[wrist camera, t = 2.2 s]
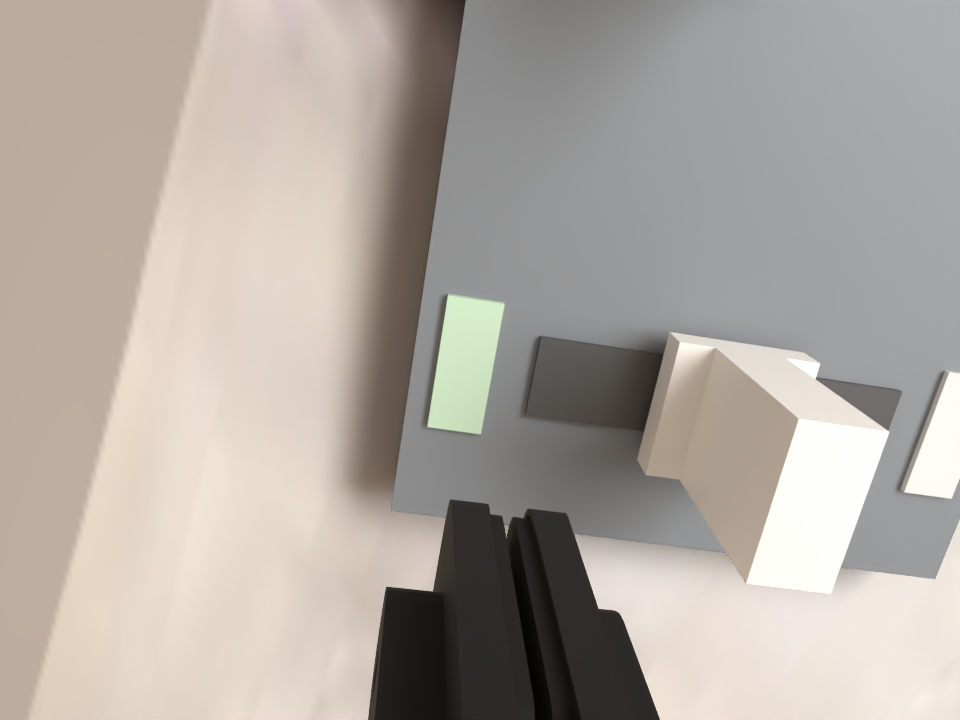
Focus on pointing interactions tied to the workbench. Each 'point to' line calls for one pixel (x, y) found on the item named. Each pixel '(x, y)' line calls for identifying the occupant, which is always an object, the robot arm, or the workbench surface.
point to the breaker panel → (689, 250)
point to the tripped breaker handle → (763, 456)
